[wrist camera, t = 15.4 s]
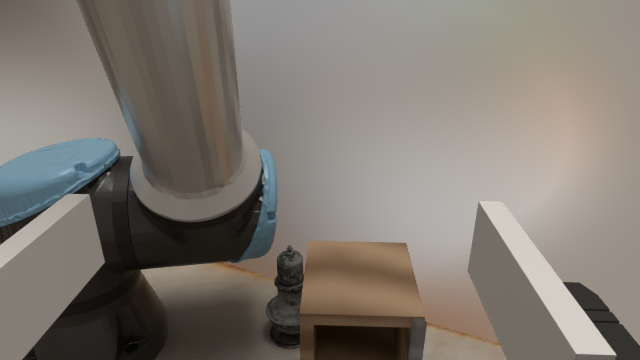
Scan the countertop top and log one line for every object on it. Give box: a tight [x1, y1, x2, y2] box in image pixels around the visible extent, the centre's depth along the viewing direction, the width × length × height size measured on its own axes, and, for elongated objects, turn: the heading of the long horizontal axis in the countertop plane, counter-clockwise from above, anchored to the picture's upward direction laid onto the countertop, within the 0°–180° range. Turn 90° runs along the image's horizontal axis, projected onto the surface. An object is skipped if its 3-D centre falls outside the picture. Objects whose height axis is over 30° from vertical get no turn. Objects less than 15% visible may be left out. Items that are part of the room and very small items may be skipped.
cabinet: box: [299, 241, 427, 360], centre depth 39 cm, size 11×9×16 cm
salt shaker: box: [266, 245, 304, 349], centre depth 51 cm, size 6×6×12 cm
